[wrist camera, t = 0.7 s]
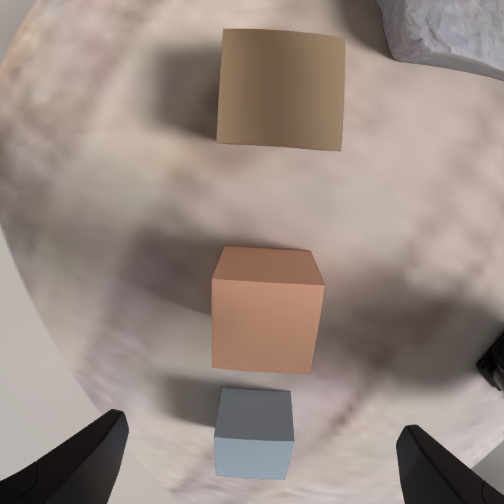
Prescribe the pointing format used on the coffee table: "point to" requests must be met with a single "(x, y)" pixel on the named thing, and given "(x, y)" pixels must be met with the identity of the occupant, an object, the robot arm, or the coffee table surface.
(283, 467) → the slate blue block
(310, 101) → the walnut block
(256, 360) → the terracotta block
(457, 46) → the stone block
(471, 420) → the coffee table surface
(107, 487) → the robot arm
